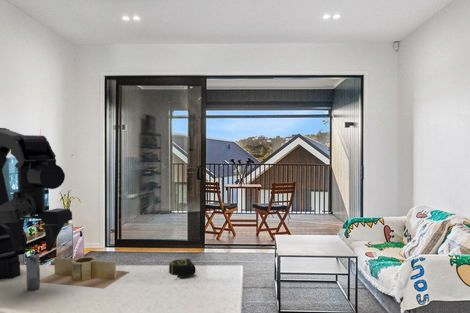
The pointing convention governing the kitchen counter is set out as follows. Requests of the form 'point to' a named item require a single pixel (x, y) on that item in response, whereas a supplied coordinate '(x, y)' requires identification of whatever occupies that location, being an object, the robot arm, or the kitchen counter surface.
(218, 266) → the kitchen counter surface
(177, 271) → the tape measure
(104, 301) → the kitchen counter surface
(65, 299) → the kitchen counter surface
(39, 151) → the robot arm
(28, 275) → the hinge pin
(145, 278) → the kitchen counter surface
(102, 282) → the walnut board
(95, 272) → the brass hinge
